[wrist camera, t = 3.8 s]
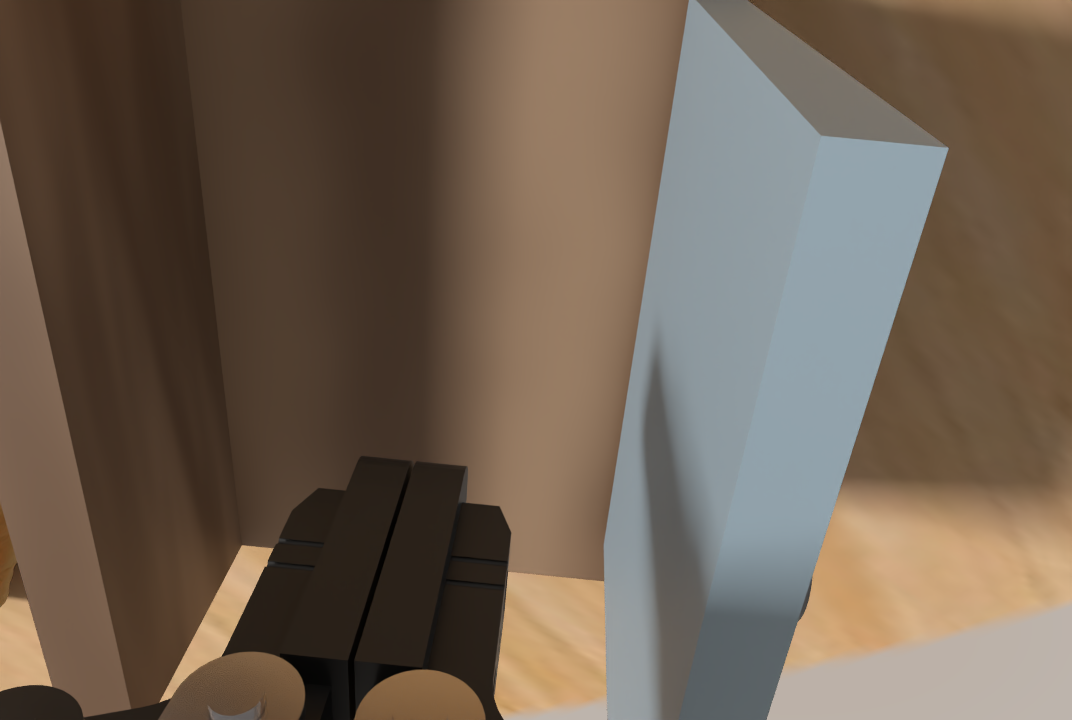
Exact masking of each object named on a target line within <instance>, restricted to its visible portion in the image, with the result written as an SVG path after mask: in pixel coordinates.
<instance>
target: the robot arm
mask: <svg viewBox="0 0 1072 720" xmlns="http://www.w3.org/2000/svg"><path fill="white" fill-rule="evenodd" d="M467 482H468V467H467V466H459V465H450V464H440V463H430V462H420V461H416V462H415V464H414V462H413V461H408V460H398V459H389V458H379V457H369V456H361V457H360V458H359V460H358V462H357V464H356V467H355V469H354V471H353V474H352V476H351V479H350V481H349V484H348V486H347V489H346V491H345V490H335V489H325V488H318V489H317V490H315V491H314V492H313V493H312V494H311V495H309V496H308V497H307V498H306V499H305V500H304V501H302V502H301V503H300V504H299V505H298V506H297V507H295V508H294V509H293V510H292V511H291V514H290V516H289V518H288V520H287V522H286V524H285V526H284V528H283V530H282V532H281V534H280V537H279V542H278V544H276V545H275V547H274V549H273V551H272V553H271V555H270V557H269V560H268V565H267V567H265V568H264V570H263V572H262V574H261V576H260V578H259V580H258V582H257V585H256V587H255V589H254V591H253V593H252V595H251V597H250V599H249V601H248V603H247V605H246V608H245V610H244V612H243V614H242V616H241V618H240V620H239V622H238V624H237V626H236V628H235V630H234V633H233V635H232V637H231V639H230V641H229V643H228V645H227V647H226V649H225V651H224V653H223V655H222V657H220V658H217V659H215V660H213V661H210V662H208V663H207V664H205V665H203V666H202V667H200V668H198V669H197V670H196V671H194V672H193V673H192V674H191V675H189V676H188V677H187V678H186V679H185V680H184V681H183V682H182V683H181V685H180V686H179V687H178V689H177V690H176V692H175V693H174V695H173V696H172V698H170V699H168V700H165V701H163V702H160V703H157V704H153V705H149V706H145V707H140V708H134V709H129V710H123V711H117V712H111V713H106V714H100V715H94V716H88V717H84V716H83V712H82V709H81V707H80V705H79V703H78V702H77V700H76V699H75V698H74V697H72V696H71V695H70V694H68V693H67V692H65V691H63V690H61V689H58V688H55V687H50V686H43V685H29V686H21V687H15V688H11V689H7V690H3V691H1V692H0V720H503V718H502V716H501V714H500V713H499V711H498V709H497V706H496V703H495V700H494V694H495V686H496V677H497V668H498V661H499V652H500V643H501V636H502V628H503V619H504V611H505V599H506V588H507V577H508V566H509V554H510V543H511V530H510V528H509V526H508V524H507V522H506V519H505V517H504V515H503V513H502V510H501V508H500V506H493V505H484V504H474V503H466V501H467Z"/></svg>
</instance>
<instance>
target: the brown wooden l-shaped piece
mask: <svg viewBox="0 0 1072 720" xmlns="http://www.w3.org/2000/svg"><path fill="white" fill-rule="evenodd" d="M688 3H689V0H0V503H1V507H2V511H3V514H4V518H5V521H6V525H7V528H8V532H9V535H10V539H11V542H12V546H13V549H14V553H15V556H16V560H17V563H18V567H19V570H20V574H21V577H22V581H23V584H24V588H25V591H26V595H27V599H28V602H29V606H30V609H31V613H32V616H33V620H34V623H35V627H36V630H37V634H38V637H39V641H40V644H41V648H42V651H43V655H44V658H45V662H46V665H47V669H48V672H49V676H50V680H51V683H52V687H55V688H58V689H61V690H63V691H65V692H67V693H68V694H70V695H71V696H72V697H74V698H75V699H76V700H77V702H78V703H79V705H80V707H81V709H82V712H83V716H84V717H88V716H94V715H100V714H106V713H111V712H117V711H123V710H129V709H134V708H140V707H145V706H149V705H153V704H157V703H159V702H160V700H161V698H162V696H163V694H164V692H165V690H166V688H167V686H168V685H169V683H170V681H171V679H172V677H173V675H174V673H175V671H176V669H177V667H178V666H179V664H180V662H181V660H182V658H183V656H184V654H185V652H186V650H187V648H188V647H189V645H190V643H191V641H192V639H193V637H194V635H195V633H196V631H197V629H198V628H199V626H200V624H201V622H202V620H203V618H204V616H205V614H206V612H207V610H208V609H209V607H210V605H211V603H212V601H213V599H214V597H215V595H216V593H217V591H218V590H219V588H220V586H221V584H222V582H223V580H224V578H225V576H226V574H227V572H228V570H229V569H230V567H231V565H232V563H233V561H234V559H235V557H236V555H237V553H238V551H239V550H240V548H241V546H242V545H246V546H256V547H266V548H274V547H275V545H276V544H278V542H279V537H280V534H281V532H282V530H283V528H284V526H285V524H286V522H287V520H288V518H289V516H290V514H291V511H292V510H293V509H294V508H295V507H297V506H298V505H299V504H300V503H301V502H302V501H304V500H305V499H306V498H307V497H308V496H309V495H311V494H312V493H313V492H314V491H315V490H317V489H318V488H325V489H335V490H345V491H346V489H347V486H348V484H349V481H350V479H351V476H352V474H353V471H354V469H355V467H356V464H357V462H358V460H359V458H360V457H361V456H369V457H379V458H389V459H398V460H408V461H413V462H414V464H415V462H416V461H420V462H430V463H440V464H450V465H459V466H467V467H468V482H467V501H466V503H474V504H484V505H493V506H500V508H501V510H502V513H503V515H504V517H505V519H506V522H507V524H508V526H509V528H510V530H511V543H510V554H509V566H508V572H517V573H527V574H537V575H547V576H557V577H567V578H577V579H587V580H597V581H604V540H605V533H606V527H607V520H608V514H609V508H610V501H611V495H612V488H613V482H614V476H615V469H616V463H617V456H618V450H619V444H620V437H621V431H622V425H623V418H624V412H625V405H626V399H627V393H628V386H629V380H630V373H631V367H632V361H633V354H634V348H635V341H636V335H637V329H638V322H639V316H640V310H641V303H642V297H643V290H644V284H645V278H646V271H647V265H648V258H649V252H650V246H651V239H652V233H653V226H654V220H655V214H656V207H657V201H658V195H659V188H660V182H661V175H662V169H663V163H664V156H665V150H666V143H667V137H668V131H669V124H670V118H671V111H672V105H673V99H674V92H675V86H676V80H677V73H678V67H679V60H680V54H681V48H682V41H683V35H684V28H685V22H686V16H687V9H688Z"/></svg>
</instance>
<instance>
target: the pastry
mask: <svg viewBox="0 0 1072 720" xmlns="http://www.w3.org/2000/svg"><path fill="white" fill-rule="evenodd" d="M16 563H17V560H16V556H15V553H14V549H13V546H12V542H11V539H10V535H9V532H8V528H7V525H6V521H5V518H4V514H3V511H2V507H1V503H0V607H1V606H2V605H3V604H4V603H5V601H6V599H7V597H8V595H9V586H10V581H11V579H12V576H13V572H14V569H13V568H14V566H15V565H16Z"/></svg>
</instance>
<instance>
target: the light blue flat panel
mask: <svg viewBox="0 0 1072 720" xmlns="http://www.w3.org/2000/svg"><path fill="white" fill-rule="evenodd" d="M948 149H949V148H948V147H947V146H946V145H944V144H943V143H941V142H940V141H939V140H937V139H936V138H935V137H933V136H932V135H931V134H929V133H928V132H926V131H925V130H924V129H922V128H921V127H920V126H918V125H917V124H916V123H914V122H913V121H911V120H910V119H909V118H907V117H906V116H905V115H903V114H902V113H901V112H899V111H898V110H896V109H895V108H894V107H892V106H891V105H890V104H888V103H887V102H886V101H884V100H883V99H881V98H880V97H879V96H877V95H876V94H875V93H873V92H872V91H871V90H869V89H868V88H866V87H865V86H864V85H862V84H861V83H860V82H858V81H857V80H856V79H854V78H853V77H851V76H850V75H849V74H847V73H846V72H845V71H843V70H842V69H841V68H839V67H838V66H836V65H835V64H834V63H832V62H831V61H830V60H828V59H827V58H826V57H824V56H823V55H821V54H820V53H819V52H817V51H816V50H815V49H813V48H812V47H811V46H809V45H808V44H806V43H805V42H804V41H802V40H801V39H800V38H798V37H797V36H796V35H794V34H793V33H791V32H790V31H789V30H787V29H786V28H785V27H783V26H782V25H780V24H779V23H778V22H776V21H775V20H774V19H772V18H771V17H770V16H768V15H767V14H765V13H764V12H763V11H761V10H760V9H759V8H757V7H756V6H755V5H753V4H752V3H750V2H749V1H748V0H689V3H688V9H687V16H686V22H685V28H684V35H683V41H682V48H681V54H680V60H679V67H678V73H677V80H676V86H675V92H674V99H673V105H672V111H671V118H670V124H669V131H668V137H667V143H666V150H665V156H664V163H663V169H662V175H661V182H660V188H659V195H658V201H657V207H656V214H655V220H654V226H653V233H652V239H651V246H650V252H649V258H648V265H647V271H646V278H645V284H644V290H643V297H642V303H641V310H640V316H639V322H638V329H637V335H636V341H635V348H634V354H633V361H632V367H631V373H630V380H629V386H628V393H627V399H626V405H625V412H624V418H623V425H622V431H621V437H620V444H619V450H618V456H617V463H616V469H615V476H614V482H613V488H612V495H611V501H610V508H609V514H608V520H607V527H606V533H605V540H604V584H605V630H606V676H607V719H608V720H766V719H767V716H768V713H769V710H770V706H771V703H772V700H773V697H774V694H775V691H776V688H777V684H778V681H779V678H780V675H781V672H782V669H783V666H784V663H785V660H786V656H787V653H788V650H789V647H790V644H791V641H792V638H793V635H794V631H795V628H796V625H797V622H798V621H799V620H800V619H801V617H802V616H803V614H804V612H805V609H806V607H807V603H808V600H809V596H810V591H811V584H812V575H813V572H814V569H815V566H816V562H817V559H818V556H819V553H820V550H821V547H822V544H823V541H824V537H825V534H826V531H827V528H828V525H829V522H830V519H831V515H832V512H833V509H834V506H835V503H836V500H837V497H838V494H839V490H840V487H841V484H842V481H843V478H844V475H845V472H846V468H847V465H848V462H849V459H850V456H851V453H852V450H853V447H854V443H855V440H856V437H857V434H858V431H859V428H860V425H861V422H862V418H863V415H864V412H865V409H866V406H867V403H868V400H869V396H870V393H871V390H872V387H873V384H874V381H875V378H876V375H877V371H878V368H879V365H880V362H881V359H882V356H883V353H884V349H885V346H886V343H887V340H888V337H889V334H890V331H891V328H892V324H893V321H894V318H895V315H896V312H897V309H898V306H899V302H900V299H901V296H902V293H903V290H904V287H905V284H906V281H907V277H908V274H909V271H910V268H911V265H912V262H913V259H914V255H915V252H916V249H917V246H918V243H919V240H920V237H921V234H922V230H923V227H924V224H925V221H926V218H927V215H928V212H929V209H930V205H931V202H932V199H933V196H934V193H935V190H936V187H937V183H938V180H939V177H940V174H941V171H942V168H943V165H944V162H945V158H946V155H947V152H948Z"/></svg>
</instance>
